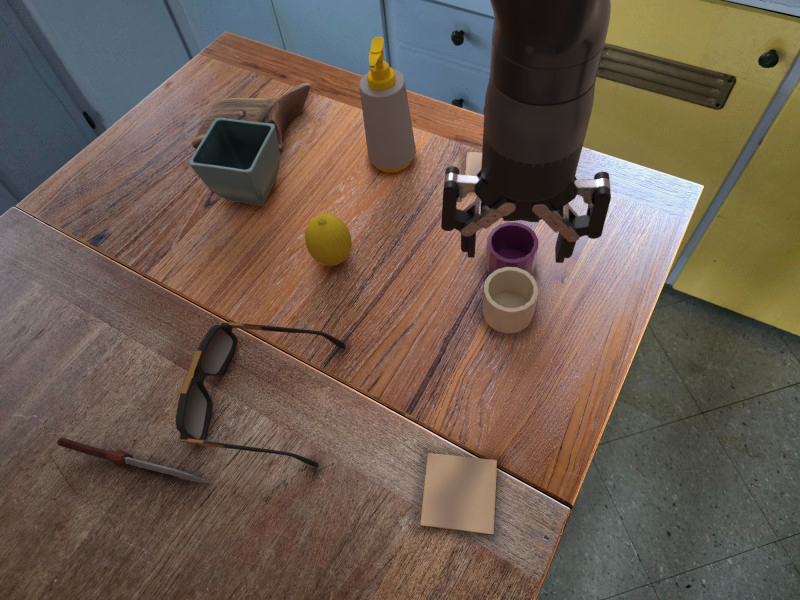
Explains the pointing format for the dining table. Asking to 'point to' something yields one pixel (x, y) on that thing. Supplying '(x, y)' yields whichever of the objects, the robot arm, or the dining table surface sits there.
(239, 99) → the fragment
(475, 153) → the far coaster
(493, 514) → the near coaster
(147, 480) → the dining table surface
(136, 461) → the knife
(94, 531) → the dining table surface
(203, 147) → the flower pot
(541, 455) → the dining table surface
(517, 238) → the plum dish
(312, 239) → the lemon
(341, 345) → the sunglasses
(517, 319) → the cream dish
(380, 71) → the soap bottle
